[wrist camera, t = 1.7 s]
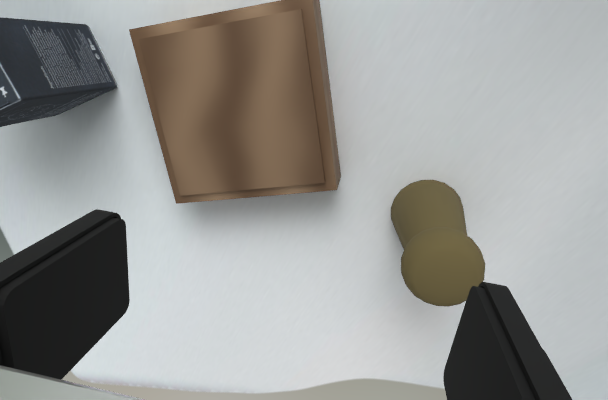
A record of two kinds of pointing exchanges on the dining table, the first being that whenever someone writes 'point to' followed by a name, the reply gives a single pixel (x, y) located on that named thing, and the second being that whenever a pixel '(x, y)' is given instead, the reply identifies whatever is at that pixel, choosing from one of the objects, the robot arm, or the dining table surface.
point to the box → (48, 69)
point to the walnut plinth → (242, 101)
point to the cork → (436, 244)
